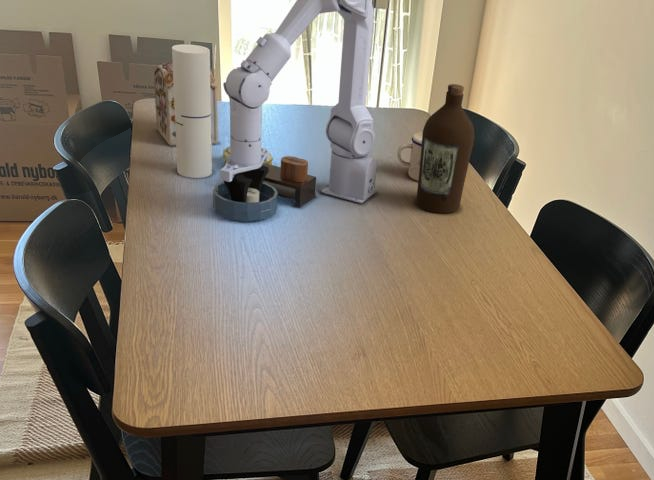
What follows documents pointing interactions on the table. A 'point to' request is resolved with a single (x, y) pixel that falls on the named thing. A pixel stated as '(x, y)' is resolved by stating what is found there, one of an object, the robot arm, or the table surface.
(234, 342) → the table surface
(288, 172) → the brown rounded block
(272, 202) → the bowl
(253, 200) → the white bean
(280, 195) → the rack
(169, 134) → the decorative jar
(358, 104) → the robot arm
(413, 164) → the teacup with lid
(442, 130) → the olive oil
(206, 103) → the cylindrical container
